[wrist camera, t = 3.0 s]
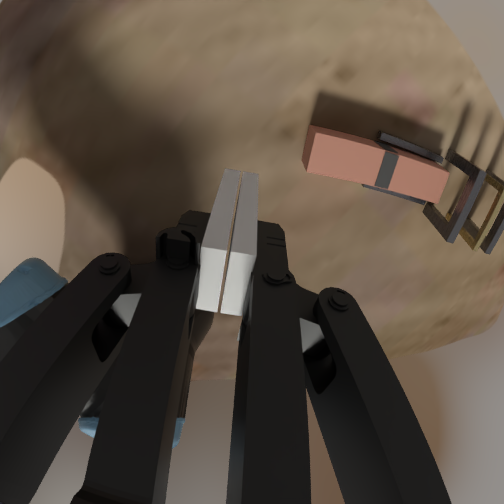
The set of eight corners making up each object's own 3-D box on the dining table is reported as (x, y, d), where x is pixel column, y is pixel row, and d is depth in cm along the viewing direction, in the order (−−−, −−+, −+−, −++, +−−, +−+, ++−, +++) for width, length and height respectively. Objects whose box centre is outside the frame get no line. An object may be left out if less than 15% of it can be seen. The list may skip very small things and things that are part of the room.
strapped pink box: (301, 160, 30) (306, 173, 26) (309, 123, 27) (316, 131, 24) (422, 189, 31) (437, 205, 28) (433, 159, 28) (450, 172, 25)
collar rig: (357, 193, 31) (379, 228, 25) (382, 120, 26) (414, 138, 20) (466, 227, 33) (493, 258, 27) (491, 172, 28) (524, 198, 22)
